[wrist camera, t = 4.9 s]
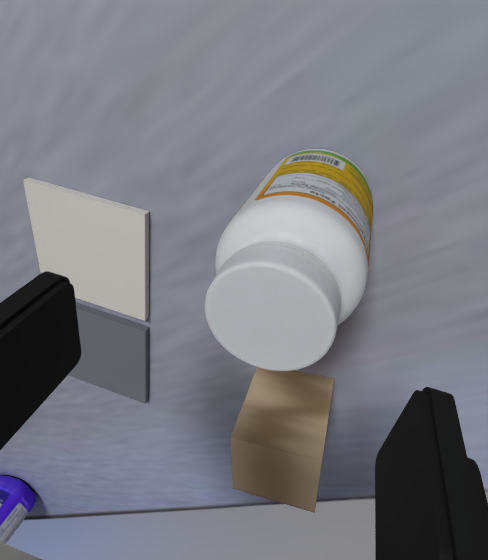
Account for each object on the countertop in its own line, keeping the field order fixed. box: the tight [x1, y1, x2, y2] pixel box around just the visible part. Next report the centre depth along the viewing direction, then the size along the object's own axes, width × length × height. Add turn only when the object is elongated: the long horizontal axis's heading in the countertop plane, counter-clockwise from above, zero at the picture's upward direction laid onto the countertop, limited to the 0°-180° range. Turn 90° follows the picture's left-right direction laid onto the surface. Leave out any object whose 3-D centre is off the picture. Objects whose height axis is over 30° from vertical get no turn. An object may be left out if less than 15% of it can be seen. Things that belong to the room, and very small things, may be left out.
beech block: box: [230, 367, 334, 512], centre depth 25 cm, size 5×5×6 cm
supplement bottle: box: [205, 149, 373, 371], centre depth 15 cm, size 5×5×10 cm
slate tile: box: [68, 303, 149, 404], centre depth 30 cm, size 8×8×1 cm
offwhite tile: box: [23, 178, 149, 321], centre depth 25 cm, size 8×8×1 cm
